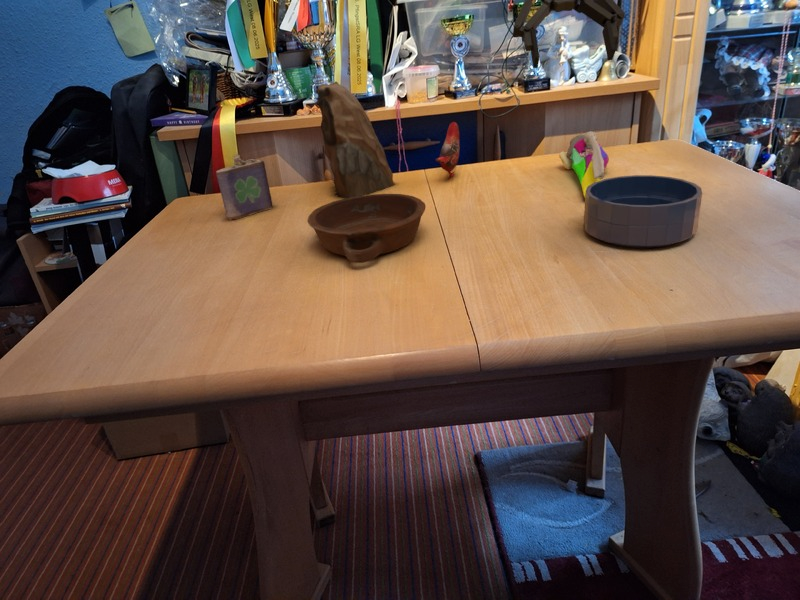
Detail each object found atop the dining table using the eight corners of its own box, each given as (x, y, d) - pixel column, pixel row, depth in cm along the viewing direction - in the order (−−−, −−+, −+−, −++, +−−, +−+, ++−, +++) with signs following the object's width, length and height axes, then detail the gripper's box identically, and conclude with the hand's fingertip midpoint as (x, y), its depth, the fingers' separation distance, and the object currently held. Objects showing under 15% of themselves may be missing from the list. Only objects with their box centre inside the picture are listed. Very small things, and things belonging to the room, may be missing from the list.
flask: (230, 221, 101) (215, 162, 96) (224, 218, 103) (209, 160, 98) (275, 207, 106) (264, 150, 101) (268, 205, 108) (256, 149, 103)
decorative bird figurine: (465, 168, 118) (462, 119, 113) (445, 193, 103) (442, 138, 99) (452, 168, 119) (449, 120, 114) (430, 193, 104) (426, 138, 99)
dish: (424, 212, 94) (421, 183, 92) (432, 264, 74) (430, 228, 72) (321, 223, 95) (316, 194, 93) (303, 276, 75) (296, 242, 73)
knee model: (580, 228, 94) (567, 170, 114) (629, 208, 90) (606, 152, 110) (559, 183, 90) (549, 131, 110) (609, 160, 86) (589, 111, 106)
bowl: (651, 209, 85) (655, 170, 82) (720, 239, 72) (728, 194, 70) (565, 225, 82) (566, 185, 80) (621, 259, 70) (625, 213, 67)
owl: (347, 201, 105) (330, 88, 96) (309, 192, 113) (290, 88, 104) (397, 184, 112) (385, 77, 103) (357, 177, 120) (344, 78, 111)
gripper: (618, -22, 111) (637, 66, 105) (492, -8, 113) (503, 79, 106) (629, -56, 104) (651, 36, 98) (494, -40, 106) (507, 51, 99)
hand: (574, 59), depth 102 cm, fingers open, 13 cm apart
